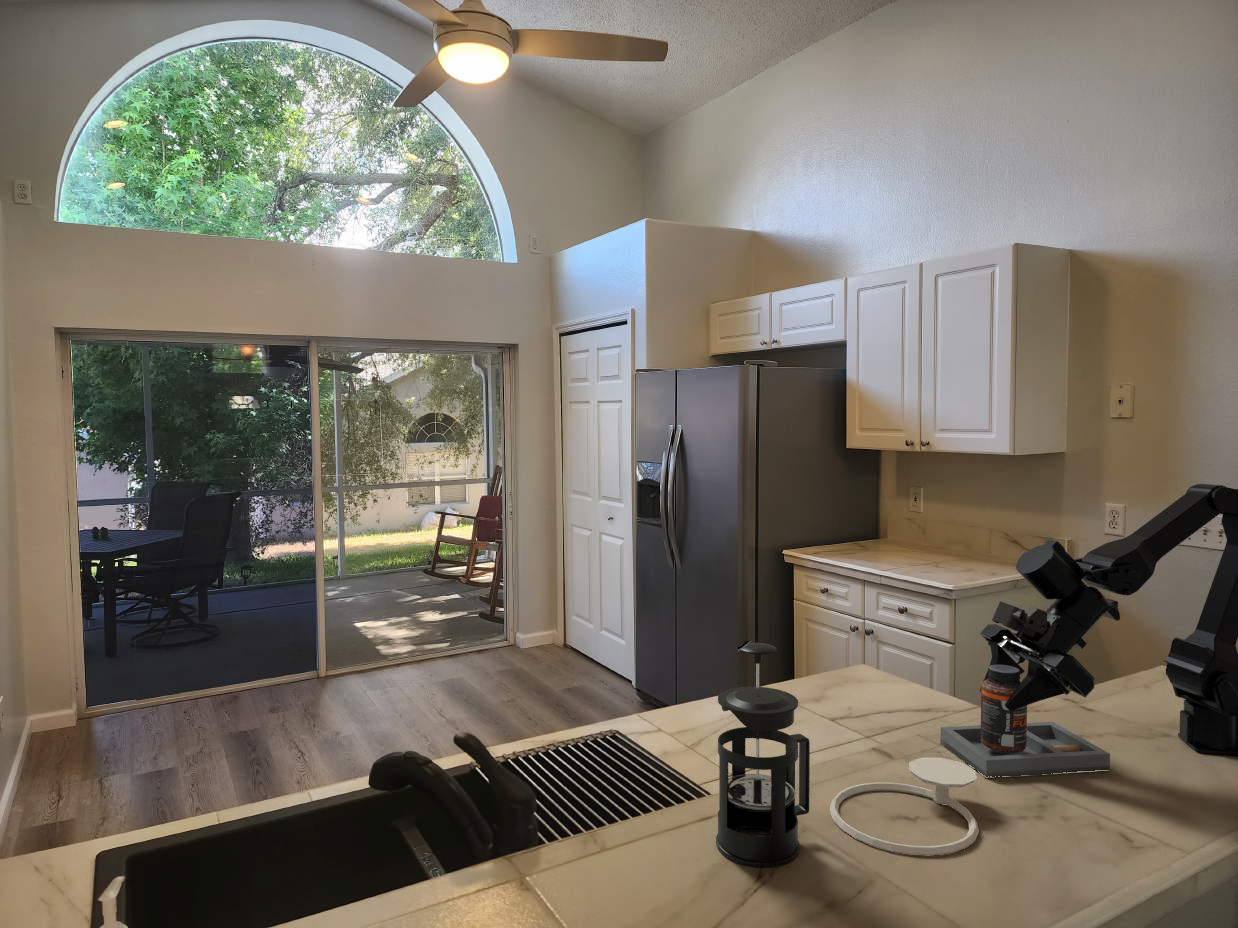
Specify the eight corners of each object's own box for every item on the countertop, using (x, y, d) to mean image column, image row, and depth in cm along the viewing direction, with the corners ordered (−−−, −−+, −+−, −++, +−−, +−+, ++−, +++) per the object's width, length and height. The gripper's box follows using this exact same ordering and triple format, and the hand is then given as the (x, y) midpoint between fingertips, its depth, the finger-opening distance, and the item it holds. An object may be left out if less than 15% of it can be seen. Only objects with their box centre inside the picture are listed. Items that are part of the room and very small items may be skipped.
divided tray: (1052, 737, 120) (1052, 721, 120) (1109, 771, 108) (1110, 753, 108) (940, 743, 118) (940, 727, 118) (986, 778, 106) (986, 760, 106)
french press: (736, 876, 83) (736, 661, 82) (696, 834, 92) (696, 639, 91) (829, 854, 87) (830, 649, 86) (783, 816, 96) (783, 629, 95)
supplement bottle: (1020, 758, 108) (1021, 677, 108) (975, 747, 112) (975, 669, 112) (1031, 744, 113) (1032, 667, 112) (987, 734, 117) (987, 659, 116)
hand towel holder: (800, 778, 97) (906, 741, 109) (800, 813, 98) (906, 772, 109) (918, 835, 83) (1026, 786, 94) (918, 876, 83) (1025, 822, 95)
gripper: (992, 571, 121) (924, 645, 121) (1074, 596, 103) (994, 684, 102) (1039, 619, 123) (972, 693, 122) (1129, 653, 104) (1051, 740, 103)
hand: (994, 700), depth 112 cm, fingers closed on supplement bottle, 6 cm apart
